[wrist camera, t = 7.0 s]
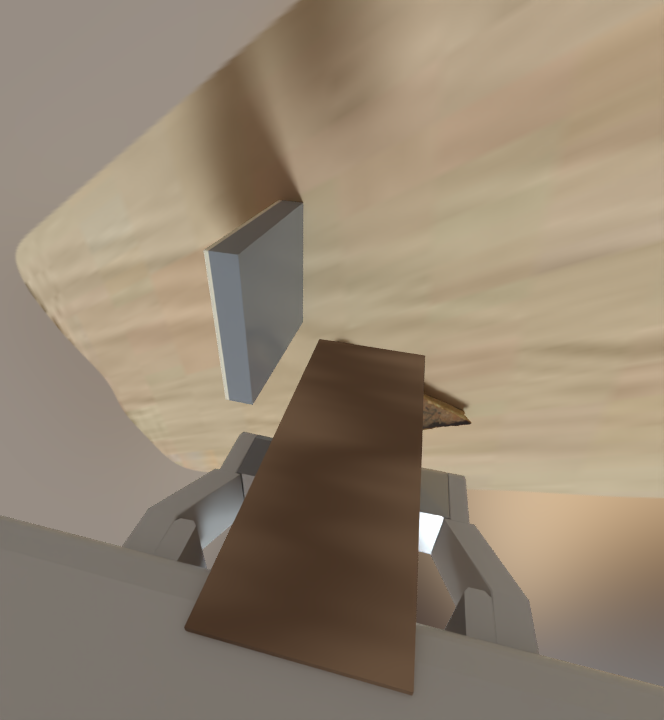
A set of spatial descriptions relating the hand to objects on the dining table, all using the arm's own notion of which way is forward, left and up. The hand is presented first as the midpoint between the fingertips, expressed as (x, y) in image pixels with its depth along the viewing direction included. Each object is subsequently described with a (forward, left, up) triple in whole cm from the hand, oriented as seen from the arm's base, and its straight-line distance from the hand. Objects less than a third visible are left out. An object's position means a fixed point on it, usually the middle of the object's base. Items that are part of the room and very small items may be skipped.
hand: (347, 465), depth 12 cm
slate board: (+7, 0, -15) cm, 16 cm away
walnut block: (0, 0, -4) cm, 4 cm away
